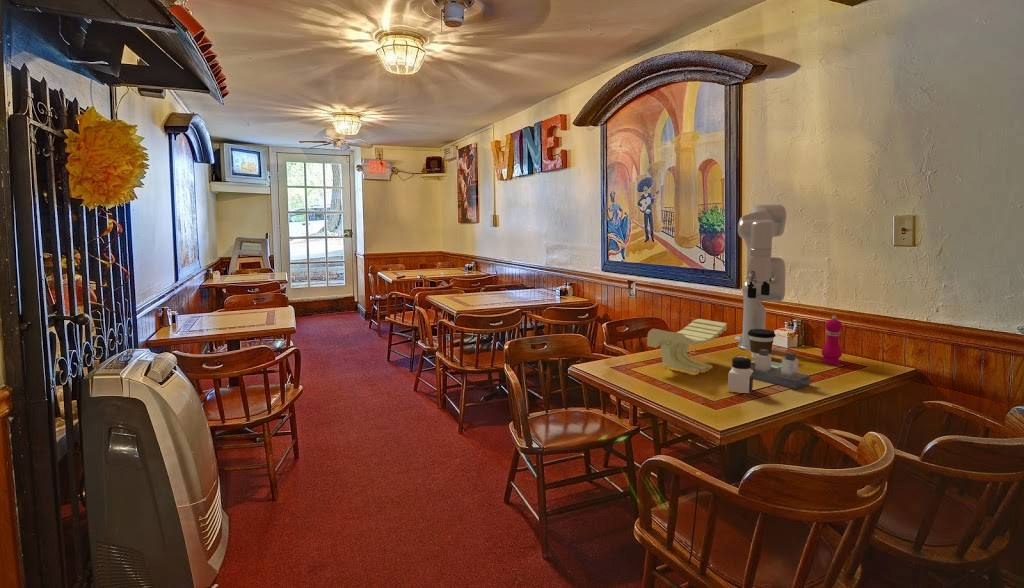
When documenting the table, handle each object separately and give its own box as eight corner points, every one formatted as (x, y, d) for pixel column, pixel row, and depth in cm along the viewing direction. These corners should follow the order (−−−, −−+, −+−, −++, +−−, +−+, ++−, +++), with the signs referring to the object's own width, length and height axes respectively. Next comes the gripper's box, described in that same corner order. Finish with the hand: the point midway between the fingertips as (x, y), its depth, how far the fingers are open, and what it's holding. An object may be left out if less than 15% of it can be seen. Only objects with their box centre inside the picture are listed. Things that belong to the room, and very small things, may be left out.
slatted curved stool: (691, 358, 237) (692, 317, 234) (725, 365, 224) (726, 323, 222) (646, 370, 219) (647, 327, 216) (680, 380, 206) (681, 334, 204)
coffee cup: (743, 355, 240) (745, 328, 239) (770, 356, 238) (772, 329, 236) (749, 361, 230) (750, 333, 228) (777, 362, 228) (778, 334, 226)
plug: (754, 375, 208) (756, 349, 206) (760, 373, 210) (761, 348, 209) (764, 377, 204) (766, 351, 203) (770, 375, 207) (771, 350, 205)
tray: (744, 367, 221) (744, 363, 221) (759, 363, 227) (759, 358, 227) (771, 374, 212) (771, 369, 212) (786, 368, 219) (786, 364, 218)
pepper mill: (835, 361, 228) (839, 314, 225) (844, 366, 221) (848, 317, 218) (817, 361, 229) (820, 314, 226) (825, 365, 222) (829, 317, 219)
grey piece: (733, 375, 212) (734, 346, 210) (747, 370, 217) (748, 342, 216) (795, 390, 192) (797, 358, 191) (809, 384, 198) (811, 354, 197)
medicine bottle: (749, 395, 188) (751, 361, 187) (727, 392, 192) (728, 358, 190) (752, 389, 194) (754, 356, 193) (731, 386, 198) (732, 354, 196)
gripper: (763, 250, 221) (761, 292, 224) (739, 254, 211) (737, 298, 214) (781, 252, 215) (779, 294, 218) (757, 255, 205) (755, 300, 208)
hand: (758, 296), depth 216 cm, fingers open, 9 cm apart
